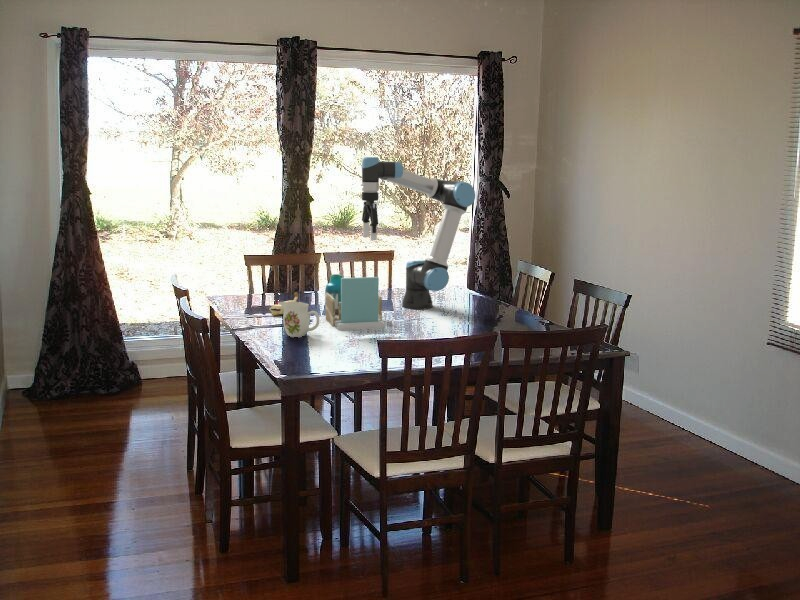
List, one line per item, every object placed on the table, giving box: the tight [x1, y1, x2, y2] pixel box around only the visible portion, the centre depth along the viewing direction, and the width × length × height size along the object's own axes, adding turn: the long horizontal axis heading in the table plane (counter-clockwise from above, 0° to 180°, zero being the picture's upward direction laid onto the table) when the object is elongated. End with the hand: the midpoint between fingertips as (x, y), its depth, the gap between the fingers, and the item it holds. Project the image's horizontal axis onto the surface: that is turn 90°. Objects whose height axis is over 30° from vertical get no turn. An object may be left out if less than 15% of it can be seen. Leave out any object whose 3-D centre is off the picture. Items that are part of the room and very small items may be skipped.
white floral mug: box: [277, 301, 321, 338], centre depth 331 cm, size 11×18×14 cm, turn 77°
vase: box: [324, 273, 343, 315], centre depth 372 cm, size 11×11×19 cm
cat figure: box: [269, 291, 302, 316], centre depth 381 cm, size 10×9×25 cm
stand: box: [334, 319, 385, 331], centre depth 344 cm, size 20×8×4 cm, turn 107°
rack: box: [325, 293, 383, 327], centre depth 354 cm, size 22×15×14 cm
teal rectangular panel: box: [341, 276, 380, 323], centre depth 342 cm, size 16×2×22 cm, turn 107°
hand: (369, 238), depth 365 cm, fingers open, 13 cm apart
